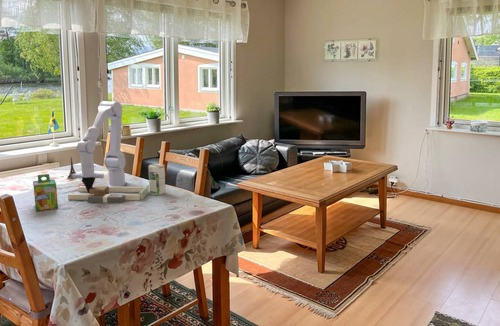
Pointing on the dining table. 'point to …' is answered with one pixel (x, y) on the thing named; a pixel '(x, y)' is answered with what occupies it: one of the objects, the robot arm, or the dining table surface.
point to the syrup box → (157, 179)
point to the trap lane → (107, 197)
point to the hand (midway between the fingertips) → (89, 192)
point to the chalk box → (45, 193)
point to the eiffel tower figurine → (71, 172)
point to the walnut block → (99, 191)
